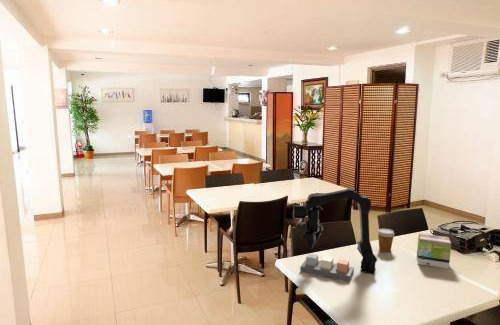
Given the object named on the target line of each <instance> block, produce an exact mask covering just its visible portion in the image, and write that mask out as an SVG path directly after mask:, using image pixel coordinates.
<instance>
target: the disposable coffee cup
mask: <svg viewBox="0 0 500 325" xmlns="http://www.w3.org/2000/svg"><path fill="white" fill-rule="evenodd" d="M377 236H378V249H379V251H380V252H383V253H391V251H392V245H393V241H394V236H395V232H394V230H393V229H390V228H379V229H378V230H377Z"/></svg>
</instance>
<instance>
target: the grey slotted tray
mask: <svg viewBox="0 0 500 325" xmlns="http://www.w3.org/2000/svg"><path fill="white" fill-rule="evenodd" d="M299 269H300V273H304V274H309V275H310V274H311V275H314V276H320V277H324V278H329V279H334V280H338V281H343V282H347V283H350V282H351V280H352V277H353V275H354V273H355V267H353V266H350V265H349V271H348V273H343V272H338V271H337V263H334V262H333V268H332V270H328V269H323V268H321V260H318V265H317V266H316V267H312V266H307V265H306V259H305V260H304V261H303V263H301V265H300V267H299Z"/></svg>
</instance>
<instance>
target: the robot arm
mask: <svg viewBox="0 0 500 325" xmlns="http://www.w3.org/2000/svg"><path fill="white" fill-rule="evenodd" d="M348 198H350V199H351V200H352V201H354V202H355V203H356V204H357V210H358V212H359V228H360V230H359V231H360V240H359V241H356V242H357V248H356V249H357V251H358V252H359V253H360V255H361V257H362V259H361V261H360V269H361V272H362V273H363V272H364V273H367V274H372V275H373V274H375V272H376V263H377V261H378V258H377V256H376V255H375V253H374V252H373V247H372V244H371V240H370V218H369V215H370V211H371V206H372V201H371V200H370V198H369V197H367V195H365V194H360V193H359V192H357V191H354V190H353V189H352V188H350V187H347V188H345V189H341V190H335V191H332V192H331V191H330V192H326V193H318V192H317V193H310V194H309V195H308V197H307V199H306V201H305V202H304V203H303V205H298V204H294V205H293V210H292V218H293V219H301V220H302V219H307V220H306V221H303V222H299V223H297V224H296V225H295V227H296V228H295V229H296V230H297V232H300V231H304V232H303V233H302V234H301V239H302V240H306V242H307V246H308V249H309V251H310V250H311V251H312V250H313V248H314V246H316V244H317V242H318V240H319V238H320V236H321V234H322V232H323V230H324V226H323V224H322V223H321V224H320V222H321V221H320V219H319V218H320V216H319V215H320V212H323V211H324V209H323V207H321V206H322V205H324V204H325V203H328V202H334V201H338V200H344V199H348ZM306 217H307V218H306Z"/></svg>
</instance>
